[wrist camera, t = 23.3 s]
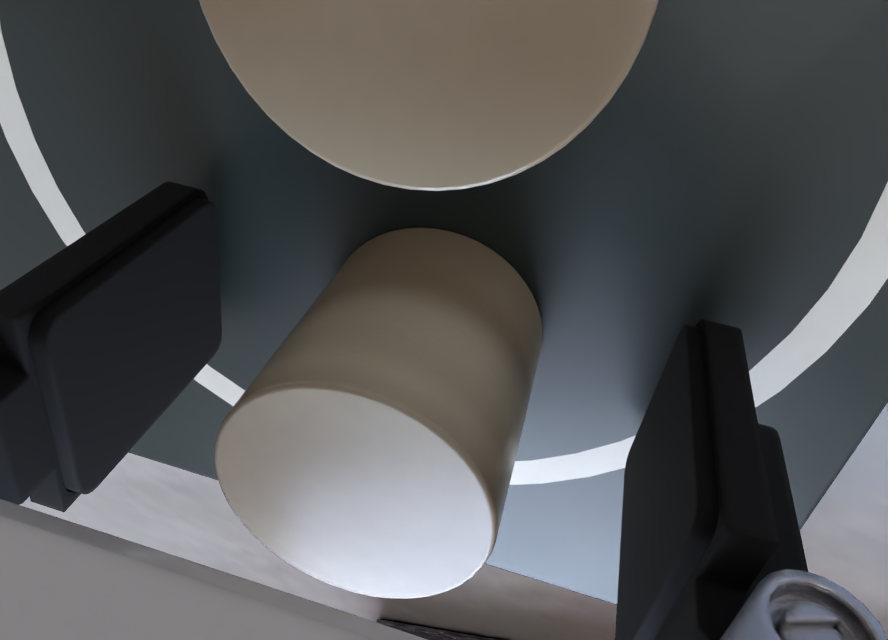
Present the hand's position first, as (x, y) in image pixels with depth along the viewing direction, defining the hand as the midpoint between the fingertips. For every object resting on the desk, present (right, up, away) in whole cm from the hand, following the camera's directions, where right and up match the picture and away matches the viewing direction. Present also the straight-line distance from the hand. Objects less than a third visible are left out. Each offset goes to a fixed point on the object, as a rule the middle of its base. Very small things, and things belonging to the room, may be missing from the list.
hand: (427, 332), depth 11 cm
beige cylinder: (0, 0, +1) cm, 1 cm away
